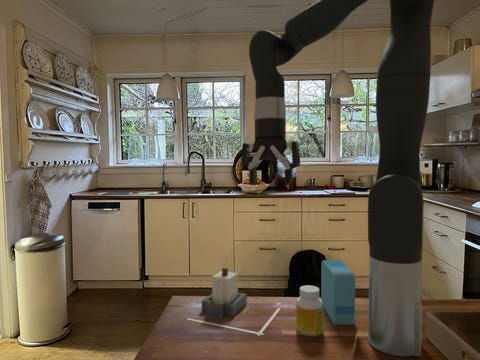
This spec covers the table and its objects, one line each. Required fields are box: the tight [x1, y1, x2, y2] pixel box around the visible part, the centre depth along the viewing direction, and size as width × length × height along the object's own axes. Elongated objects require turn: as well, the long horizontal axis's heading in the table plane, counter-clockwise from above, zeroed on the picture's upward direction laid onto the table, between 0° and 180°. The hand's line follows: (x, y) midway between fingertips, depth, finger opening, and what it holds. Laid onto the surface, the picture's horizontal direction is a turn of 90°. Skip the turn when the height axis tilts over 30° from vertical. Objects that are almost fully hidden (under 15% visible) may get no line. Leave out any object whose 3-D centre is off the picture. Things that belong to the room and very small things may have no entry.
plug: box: [211, 267, 239, 305], centre depth 83 cm, size 4×6×10 cm
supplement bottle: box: [295, 285, 324, 337], centre depth 72 cm, size 5×5×10 cm
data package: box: [320, 259, 356, 326], centre depth 80 cm, size 12×4×12 cm, turn 0°
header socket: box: [201, 292, 251, 319], centre depth 83 cm, size 10×9×2 cm
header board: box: [186, 307, 281, 337], centre depth 80 cm, size 18×14×1 cm
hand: (270, 185), depth 85 cm, fingers open, 8 cm apart
